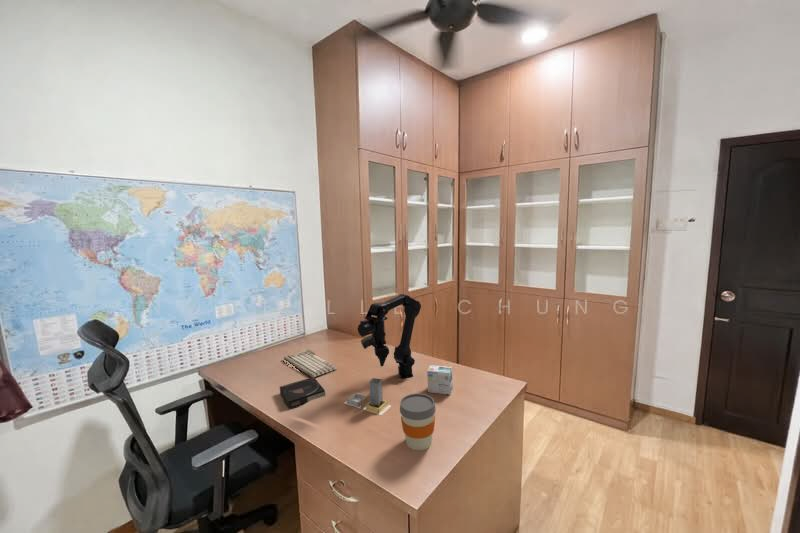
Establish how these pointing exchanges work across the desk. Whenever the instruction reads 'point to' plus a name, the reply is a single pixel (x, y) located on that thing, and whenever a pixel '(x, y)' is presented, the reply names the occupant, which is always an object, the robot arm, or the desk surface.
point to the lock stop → (376, 392)
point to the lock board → (366, 403)
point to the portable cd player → (301, 392)
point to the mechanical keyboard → (310, 363)
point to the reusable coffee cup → (418, 420)
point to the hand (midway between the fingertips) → (380, 362)
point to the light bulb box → (440, 379)
